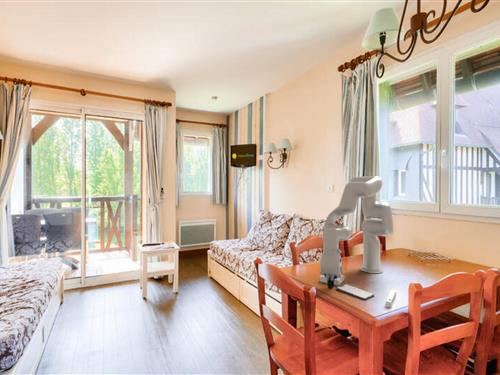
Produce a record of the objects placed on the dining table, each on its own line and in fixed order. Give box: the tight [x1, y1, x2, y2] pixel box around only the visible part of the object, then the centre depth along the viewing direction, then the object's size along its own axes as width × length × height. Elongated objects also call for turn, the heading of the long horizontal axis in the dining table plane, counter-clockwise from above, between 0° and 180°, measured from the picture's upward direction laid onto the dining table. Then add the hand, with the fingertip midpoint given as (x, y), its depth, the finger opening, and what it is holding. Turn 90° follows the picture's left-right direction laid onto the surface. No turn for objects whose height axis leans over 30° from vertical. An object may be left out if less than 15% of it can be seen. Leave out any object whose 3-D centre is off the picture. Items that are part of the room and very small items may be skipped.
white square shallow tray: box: [319, 274, 345, 287], centre depth 149 cm, size 10×10×3 cm
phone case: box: [335, 284, 375, 301], centre depth 134 cm, size 9×2×16 cm
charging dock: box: [385, 289, 397, 308], centre depth 125 cm, size 16×2×3 cm, turn 145°
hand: (330, 287), depth 140 cm, fingers closed
